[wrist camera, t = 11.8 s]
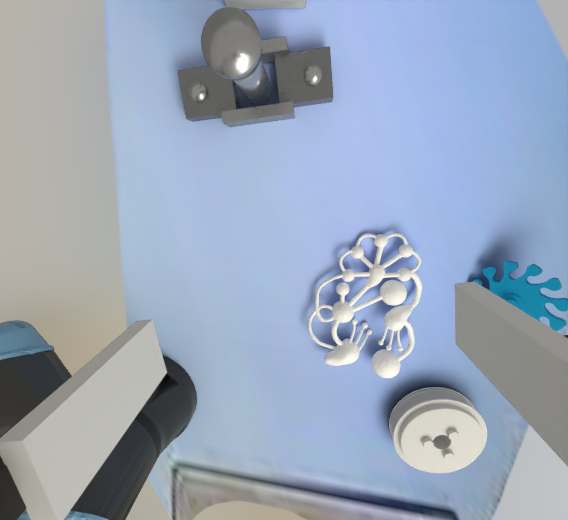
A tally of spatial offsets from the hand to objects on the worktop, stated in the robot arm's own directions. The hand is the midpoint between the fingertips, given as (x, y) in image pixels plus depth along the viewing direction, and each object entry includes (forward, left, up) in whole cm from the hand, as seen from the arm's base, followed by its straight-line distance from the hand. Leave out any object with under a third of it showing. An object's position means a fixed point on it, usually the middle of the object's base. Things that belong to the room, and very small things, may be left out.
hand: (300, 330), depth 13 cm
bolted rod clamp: (-4, +17, -28) cm, 33 cm away
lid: (+16, -31, -28) cm, 45 cm away
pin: (-4, +17, -28) cm, 33 cm away
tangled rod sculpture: (+7, -12, -28) cm, 31 cm away
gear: (+24, -11, -28) cm, 39 cm away
